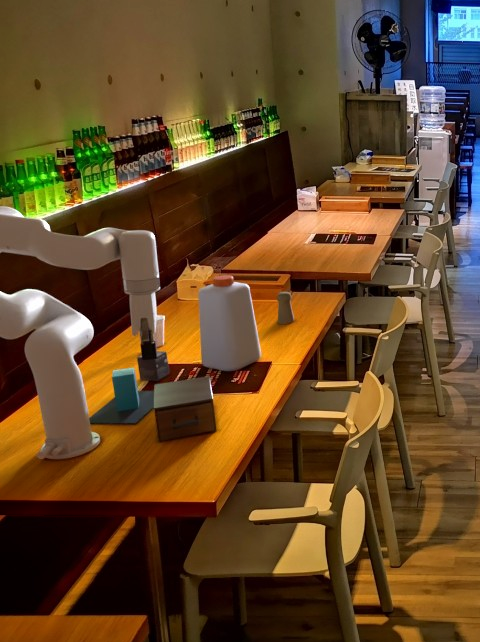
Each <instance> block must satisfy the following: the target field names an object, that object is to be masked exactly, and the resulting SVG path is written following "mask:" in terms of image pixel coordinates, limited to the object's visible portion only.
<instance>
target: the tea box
mask: <svg viewBox="0 0 480 642" xmlns="http://www.w3.org/2000/svg"><path fill="white" fill-rule="evenodd" d="M111 381H112V387H113V393H114V397H115V400H116V406H117V411H123V410H129V409H135V408H139V395H138V391H139V389H138V383H137V382H138V381H137V376H136V370H135V366H134V367H127V368H121V369H113V370H112V375H111Z"/></svg>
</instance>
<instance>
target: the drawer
mask: <svg viewBox="0 0 480 642" xmlns="http://www.w3.org/2000/svg"><path fill="white" fill-rule="evenodd" d="M157 418H158V424H159V431H160V438H161V440H163V439H169V438H174V437H180V436H185V435H191V434H197V433H202V432H208V431H213V430H214V425H213V416H212V408H211V402H210V403H208V402H206V403H200V404H194V405H188V406H182V407H176V408H170V409H164V410H160V411H157ZM208 433H209V432H208ZM197 435H198V434H197Z"/></svg>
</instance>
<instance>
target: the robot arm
mask: <svg viewBox="0 0 480 642" xmlns="http://www.w3.org/2000/svg"><path fill="white" fill-rule="evenodd" d="M156 242H157V241H156V237H155V235H154V233H153V232H152V231H150V230H145V229H144V230H143V229H137V230H126V229H119V228H116V227H104V228H101V229H98V230H96V231H92V232H90V233H88V234H86V235H83V236H82V235H70V234H65V233H58V232H53V231H52V230H51V227H50V224H48V222H47V221H46V220H45V219H41V218H36V217H28V216H23V214H22V213H21V212H20V211H19V210H17V209H15V208H13V207H9V206H5V205H4V206H0V254H1V253H7V254H8V253H9V254H14V255H15V254H16V255H23V256H31V257H35V258H37V259H38V260H39V261H41V262H43V263H46V264H49V265H51V266H55V267H60V268H65V269H66V268H67V269H74V270H83V271H91V270H97V269H100V268H102V267H104V266H105V265H108V264H109V263H111V262H115V261H117V260H120V265H121V274H122V275H121V276H122V285H123V291H124V293H125V294H126V295H129V311H130V323H131V335H132V336H134V337H136V336H137V335H139V338H140V339H139V340H140V344H139V345H140V353H141V355H142V360H149V359H156V358H157V351H158V350H157V347H156V341H154V340H155V337H154V333H155V331H156V323H157V315H158V314H157V313H158V311H157V298H156V293H157V292H158V291H160V290H161V283H160V282H161V281H160V272H159V262H158V254H157V243H156ZM32 331H33V332H32ZM94 331H95V330H94V326H93V324H92V323H91V321H90V320H89V319H88V318H87V317H86V316H85V315H83V314H82V313H81V312H78V311H77V310H75V309H73V308H72V307H71V306H70V305H68V304H65V303H63V302H62V301H60V300H59V299H57V298H55V297H54V296H52V295H51V294H48V293H47V292H45V291H41V290H39V289H32V288H26V289H22V290H19V291H16V292H14V293H12V294H7V293H5V292H2V291H0V338H1V339H2V338H3V339H5V340H15V339H19V338H20V337H23V336H26V334H28V333H31V332H32V333H31V334H29V336H28V338H27V339H26V340H25V344H24V354H25V355H24V356H25V358H26V361H27V362H28V364H29V367H30V370H31V373H32V375H33V379H34V383H35V387H36V392H37V393H36V394H37V398H38V402H39V408H40V413H41V418H42V423H43V428H44V434H45V435H44V436H45V439H44V444H42V446H41V447H40V450H39V451H38V452H37V453H36V458H37V459H39V460H43V459H49V460H66V459H72V458H74V457H79V456H82V455H85V454H86V453H89V452H91V451H92V450H94V449H95V448H97V447H98V445H99V444H100V443H101V437H100V434H98V433H97V432H95V431H92V427H91V424H90V420H89V418H90V415H89V408H88V403H87V396H86V391H85V385H84V381H83V376H82V372H81V370H80V368H79V366H78V365H77V362H76V361H75V358H74V356H75V355H77V353H79V352H81V350H83V349H85V348H86V347H87V346H88V345H89V344H90V343H91V342H92V340H93V337H94V333H95V332H94Z"/></svg>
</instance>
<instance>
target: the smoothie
mask: <svg viewBox="0 0 480 642" xmlns="http://www.w3.org/2000/svg"><path fill="white" fill-rule="evenodd" d="M165 320H166V317H165V315H162V314H157V323H156V331H155V333H154V337H155V340H154V341H156V348H159V347H162V346H164V345H165Z"/></svg>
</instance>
